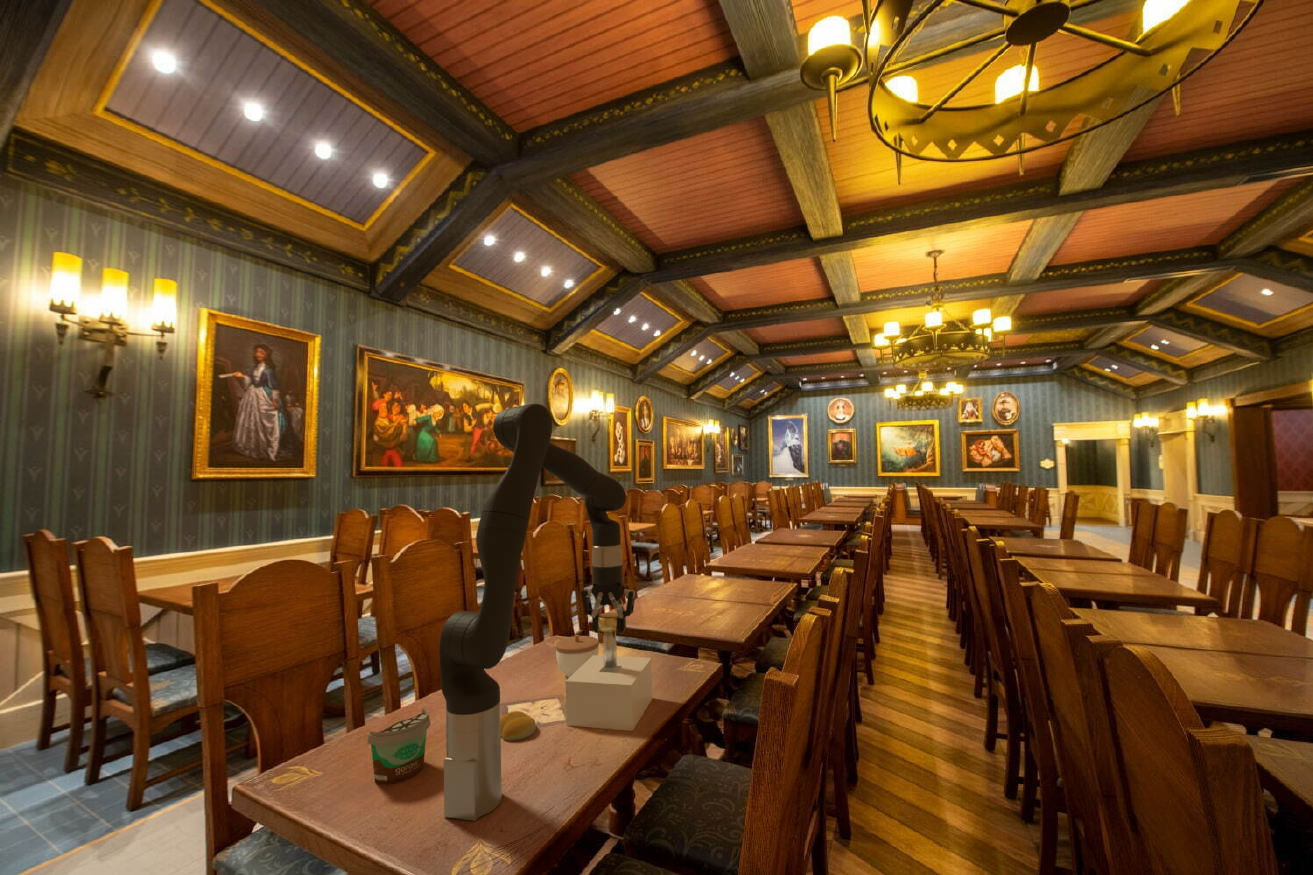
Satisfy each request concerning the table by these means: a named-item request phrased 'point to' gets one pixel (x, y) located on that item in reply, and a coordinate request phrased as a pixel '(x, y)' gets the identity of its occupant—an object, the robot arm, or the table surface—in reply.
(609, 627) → the brass-head pin
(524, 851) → the table surface
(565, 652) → the lidded bowl
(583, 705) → the pin block
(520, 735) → the bread roll
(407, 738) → the food container
